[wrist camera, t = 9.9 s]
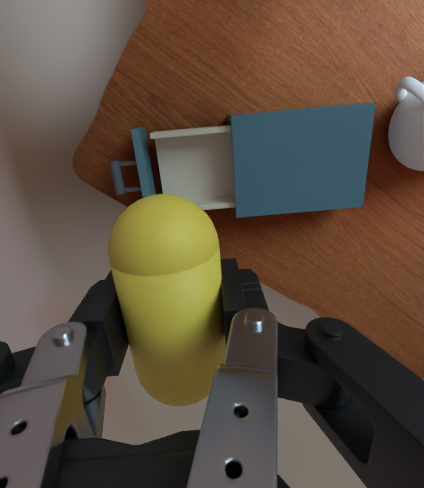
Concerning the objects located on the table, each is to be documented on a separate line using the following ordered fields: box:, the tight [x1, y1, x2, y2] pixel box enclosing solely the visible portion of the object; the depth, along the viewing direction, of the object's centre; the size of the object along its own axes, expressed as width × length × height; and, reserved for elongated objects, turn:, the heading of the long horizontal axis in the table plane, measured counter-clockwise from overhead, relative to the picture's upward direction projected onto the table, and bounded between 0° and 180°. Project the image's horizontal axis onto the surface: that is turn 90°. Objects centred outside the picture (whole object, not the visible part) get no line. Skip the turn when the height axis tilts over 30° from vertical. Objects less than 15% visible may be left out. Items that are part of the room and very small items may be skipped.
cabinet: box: [227, 103, 376, 218], centre depth 46 cm, size 20×15×7 cm
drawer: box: [109, 125, 235, 210], centre depth 46 cm, size 23×14×5 cm, turn 95°
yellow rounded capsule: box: [108, 194, 226, 406], centre depth 11 cm, size 8×4×4 cm, turn 4°
